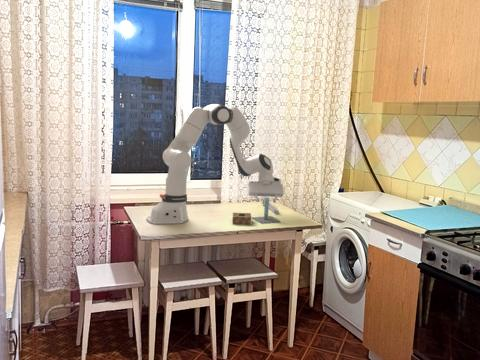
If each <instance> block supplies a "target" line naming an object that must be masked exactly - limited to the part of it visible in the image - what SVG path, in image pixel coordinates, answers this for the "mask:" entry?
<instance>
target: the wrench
mask: <svg viewBox="0 0 480 360" xmlns="http://www.w3.org/2000/svg"><path fill="white" fill-rule="evenodd" d="M265 198H268V196H261V199H262V200H261V199H260V202H261V205H262V207H265ZM268 210H270V211H271V212H272V213H273V214H274V215H277V216H278V215H280V212H279V209H278V208H277V207H275V205H274V204H273V203H272V202H270V201H269V209H268Z"/></svg>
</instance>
